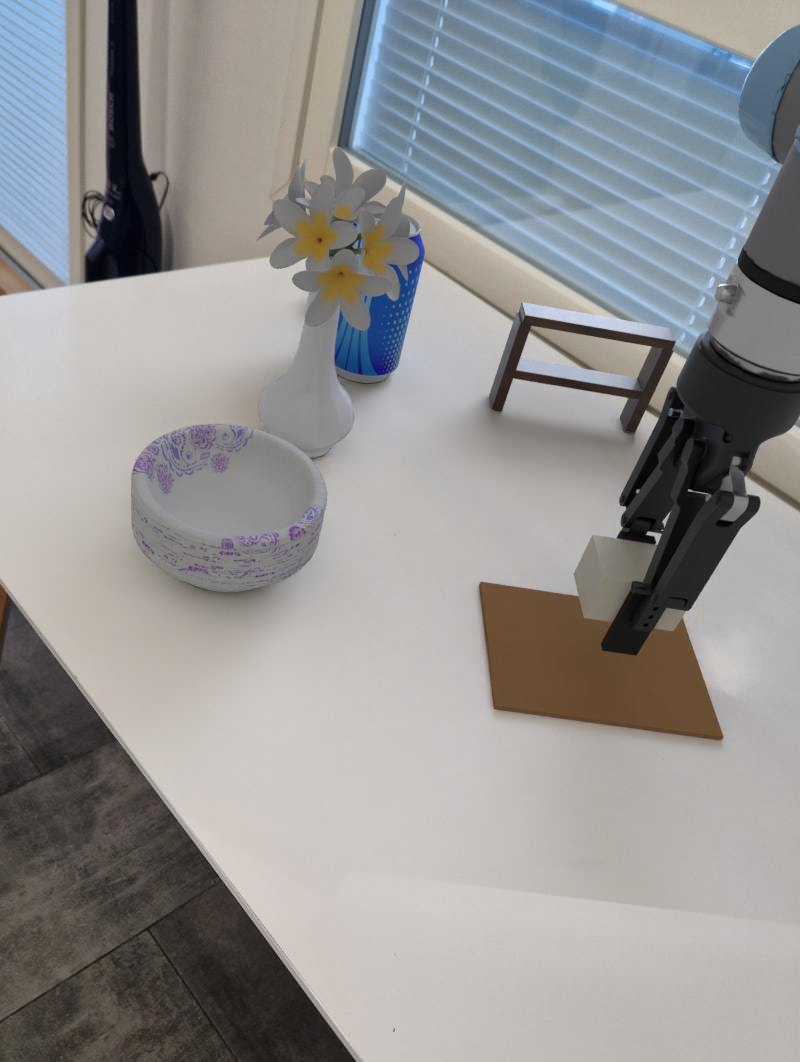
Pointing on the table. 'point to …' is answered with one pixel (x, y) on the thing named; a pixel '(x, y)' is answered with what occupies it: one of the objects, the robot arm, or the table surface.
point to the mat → (590, 667)
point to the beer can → (379, 325)
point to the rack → (579, 378)
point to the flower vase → (331, 292)
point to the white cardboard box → (615, 578)
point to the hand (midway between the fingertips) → (611, 623)
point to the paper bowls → (226, 506)
